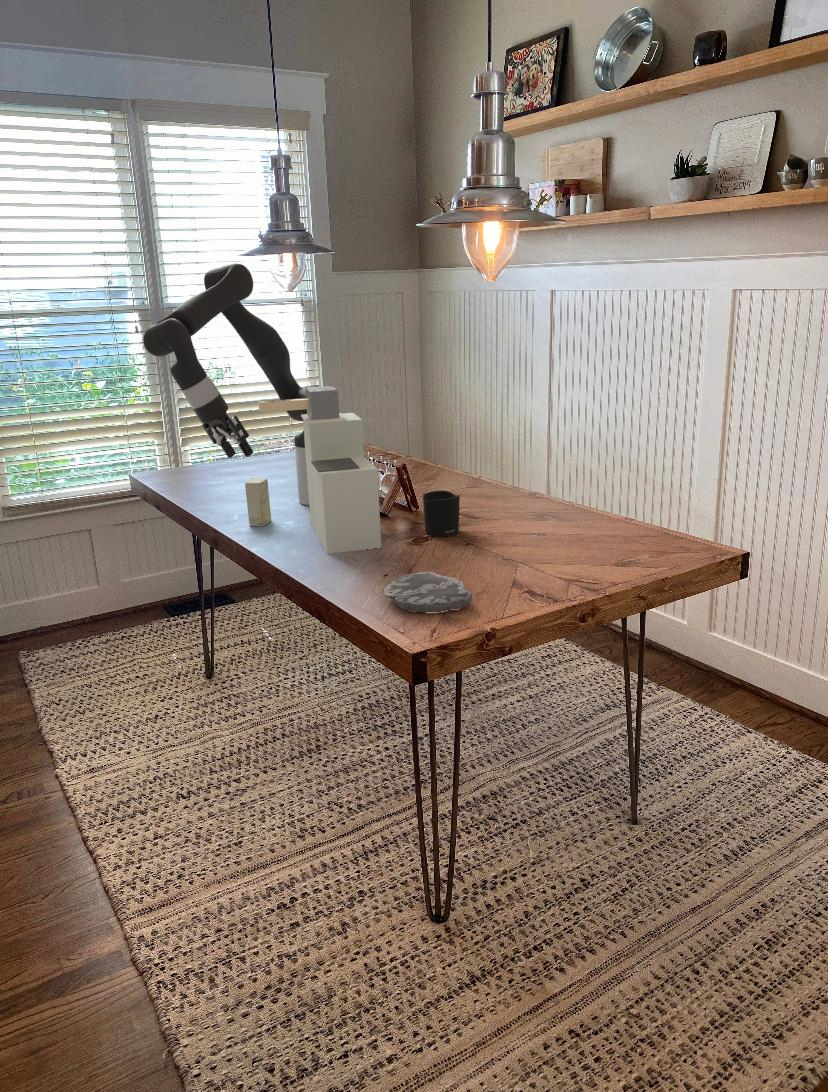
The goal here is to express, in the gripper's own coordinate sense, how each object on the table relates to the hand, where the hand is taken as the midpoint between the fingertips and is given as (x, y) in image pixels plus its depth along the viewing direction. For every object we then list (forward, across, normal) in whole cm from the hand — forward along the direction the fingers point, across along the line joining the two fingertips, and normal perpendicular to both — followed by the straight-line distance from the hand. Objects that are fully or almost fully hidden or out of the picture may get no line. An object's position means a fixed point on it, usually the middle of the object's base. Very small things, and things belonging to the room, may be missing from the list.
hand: (241, 455), depth 210 cm
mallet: (+1, -2, -18) cm, 18 cm away
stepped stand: (+31, -8, -8) cm, 33 cm away
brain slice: (+31, -57, +11) cm, 66 cm away
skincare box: (+24, +18, -2) cm, 30 cm away
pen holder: (+42, -26, -24) cm, 55 cm away
